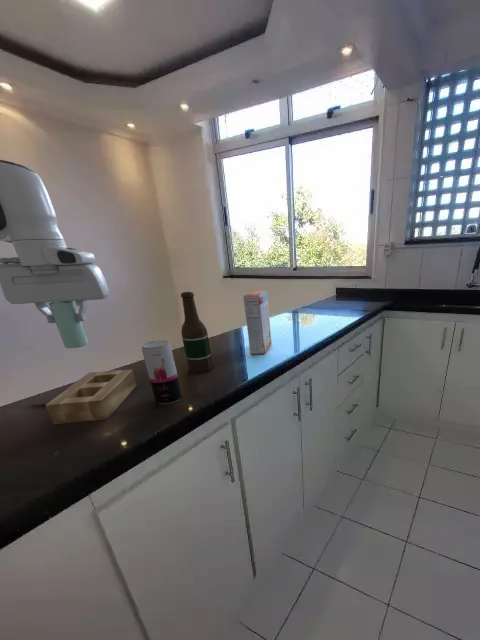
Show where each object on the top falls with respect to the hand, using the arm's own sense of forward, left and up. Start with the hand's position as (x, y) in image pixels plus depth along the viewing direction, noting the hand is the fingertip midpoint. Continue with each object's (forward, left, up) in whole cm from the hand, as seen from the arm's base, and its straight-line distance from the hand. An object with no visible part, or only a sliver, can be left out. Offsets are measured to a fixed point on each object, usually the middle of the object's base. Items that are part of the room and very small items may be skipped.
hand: (68, 321), depth 72 cm
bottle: (0, 0, -6) cm, 6 cm away
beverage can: (+18, -2, -21) cm, 28 cm away
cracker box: (+43, +38, -21) cm, 62 cm away
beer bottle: (+23, +20, -21) cm, 38 cm away
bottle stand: (0, 0, -21) cm, 21 cm away
